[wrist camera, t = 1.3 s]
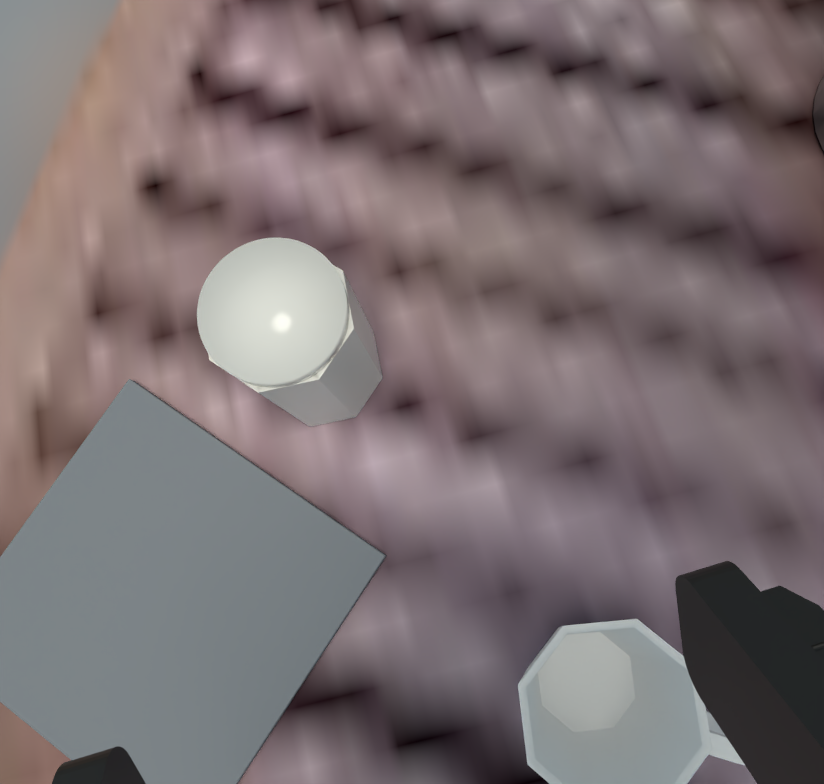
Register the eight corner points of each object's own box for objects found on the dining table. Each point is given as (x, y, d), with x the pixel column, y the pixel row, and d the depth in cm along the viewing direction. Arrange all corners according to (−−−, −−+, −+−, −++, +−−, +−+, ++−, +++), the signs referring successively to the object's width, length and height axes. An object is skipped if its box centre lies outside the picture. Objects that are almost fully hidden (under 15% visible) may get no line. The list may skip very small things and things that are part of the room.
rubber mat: (134, 381, 39) (129, 378, 38) (386, 555, 36) (384, 555, 36) (-57, 646, 37) (-66, 647, 36) (193, 850, 34) (188, 856, 34)
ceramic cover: (309, 292, 39) (254, 211, 29) (401, 350, 38) (375, 286, 28) (245, 384, 38) (167, 332, 29) (337, 445, 37) (288, 412, 28)
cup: (527, 577, 35) (542, 589, 28) (740, 643, 34) (820, 675, 26) (487, 727, 34) (491, 785, 26) (706, 801, 33) (779, 884, 25)
